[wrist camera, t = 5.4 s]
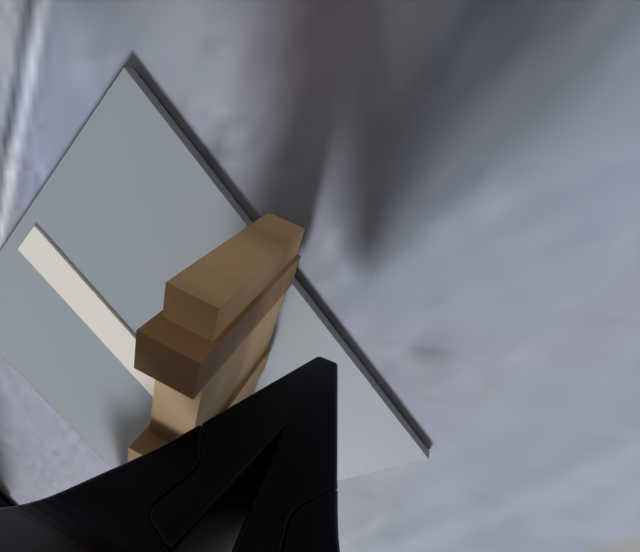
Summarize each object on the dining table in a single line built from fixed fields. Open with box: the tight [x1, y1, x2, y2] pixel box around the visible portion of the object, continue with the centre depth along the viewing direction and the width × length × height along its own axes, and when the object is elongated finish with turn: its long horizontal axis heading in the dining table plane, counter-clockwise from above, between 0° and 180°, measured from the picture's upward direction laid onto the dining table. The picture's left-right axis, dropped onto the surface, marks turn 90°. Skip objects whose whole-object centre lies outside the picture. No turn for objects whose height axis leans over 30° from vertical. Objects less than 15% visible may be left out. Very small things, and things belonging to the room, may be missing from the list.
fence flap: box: [128, 212, 305, 462], centre depth 10 cm, size 9×1×4 cm, turn 162°
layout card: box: [0, 67, 429, 481], centre depth 15 cm, size 15×14×1 cm
